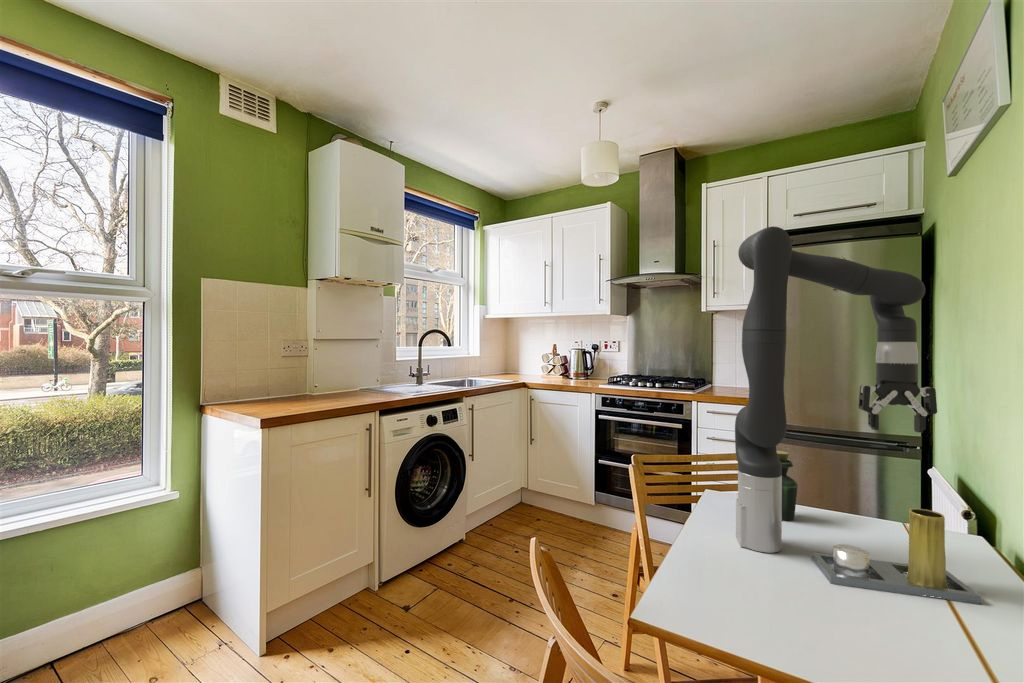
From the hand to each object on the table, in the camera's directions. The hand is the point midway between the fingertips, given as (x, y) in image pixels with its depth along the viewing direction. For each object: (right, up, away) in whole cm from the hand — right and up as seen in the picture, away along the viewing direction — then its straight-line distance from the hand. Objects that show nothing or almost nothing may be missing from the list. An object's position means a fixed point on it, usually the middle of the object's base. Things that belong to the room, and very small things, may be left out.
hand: (896, 430), depth 105 cm
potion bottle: (-15, -28, +21) cm, 38 cm away
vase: (-7, -28, -15) cm, 33 cm away
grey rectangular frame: (-13, -28, -13) cm, 33 cm away
